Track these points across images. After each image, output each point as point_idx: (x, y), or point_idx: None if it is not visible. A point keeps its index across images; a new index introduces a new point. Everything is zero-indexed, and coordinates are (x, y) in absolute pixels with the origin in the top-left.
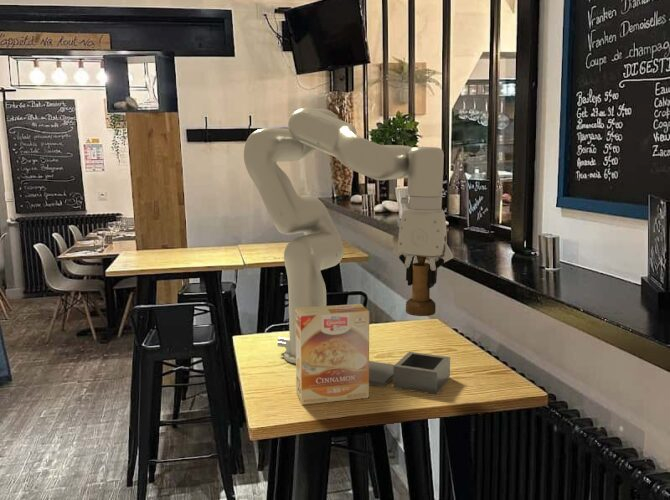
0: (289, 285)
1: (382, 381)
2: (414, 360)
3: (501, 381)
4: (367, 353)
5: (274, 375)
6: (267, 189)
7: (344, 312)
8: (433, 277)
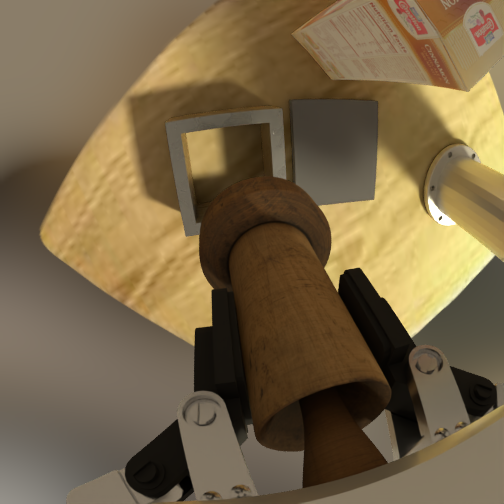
0: None
1: (297, 104)
2: None
3: (102, 250)
4: (331, 11)
5: None
6: None
7: None
8: (202, 354)
